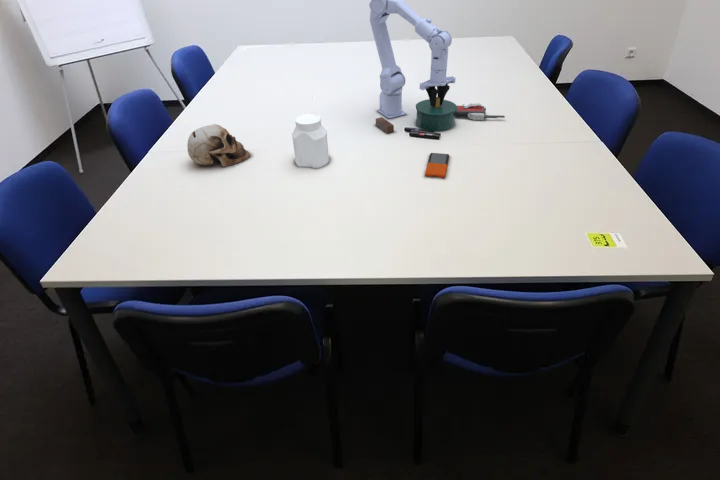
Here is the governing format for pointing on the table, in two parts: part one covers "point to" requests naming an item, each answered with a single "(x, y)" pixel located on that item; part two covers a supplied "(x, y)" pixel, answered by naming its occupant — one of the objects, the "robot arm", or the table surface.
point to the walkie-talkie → (473, 112)
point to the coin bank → (215, 147)
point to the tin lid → (436, 107)
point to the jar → (310, 142)
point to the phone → (437, 165)
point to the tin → (435, 121)
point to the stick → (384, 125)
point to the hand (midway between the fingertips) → (436, 105)
